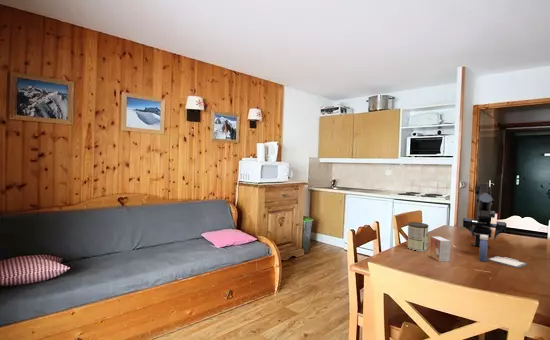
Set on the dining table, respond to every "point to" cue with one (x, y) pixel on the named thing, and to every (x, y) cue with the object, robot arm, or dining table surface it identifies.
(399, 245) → the dining table surface
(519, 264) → the clipboard
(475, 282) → the dining table surface
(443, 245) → the small box
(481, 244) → the marker
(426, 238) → the coffee can
